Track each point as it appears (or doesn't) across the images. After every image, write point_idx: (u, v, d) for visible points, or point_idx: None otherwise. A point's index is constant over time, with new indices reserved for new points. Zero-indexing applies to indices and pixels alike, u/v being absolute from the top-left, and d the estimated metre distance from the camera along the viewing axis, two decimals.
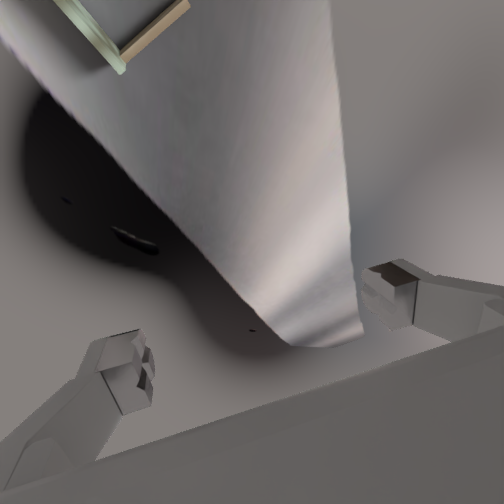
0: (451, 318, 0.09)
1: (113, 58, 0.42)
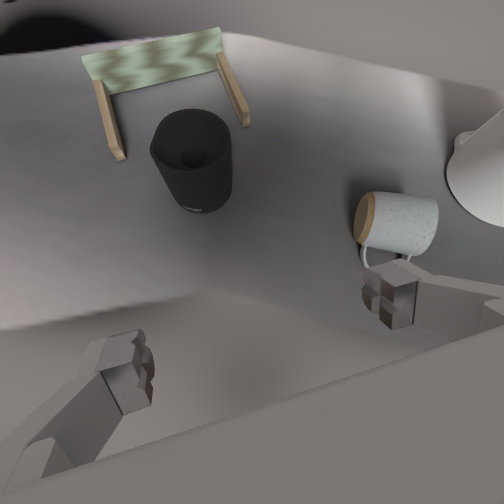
0: (451, 318, 0.09)
1: (96, 57, 0.41)
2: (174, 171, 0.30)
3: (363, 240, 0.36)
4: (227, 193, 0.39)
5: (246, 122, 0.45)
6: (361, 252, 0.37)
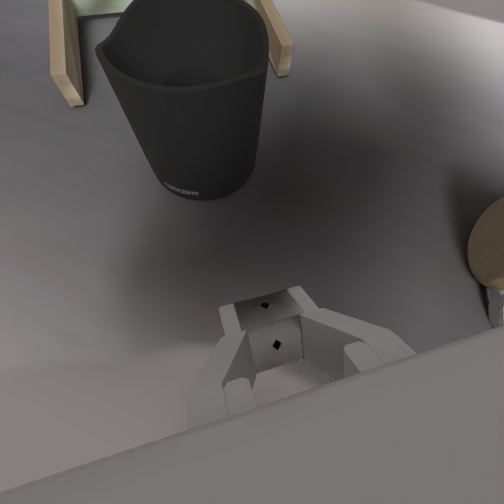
0: (331, 356, 0.08)
1: None
2: (139, 85, 0.13)
3: None
4: (247, 167, 0.21)
5: (283, 67, 0.28)
6: (495, 306, 0.19)
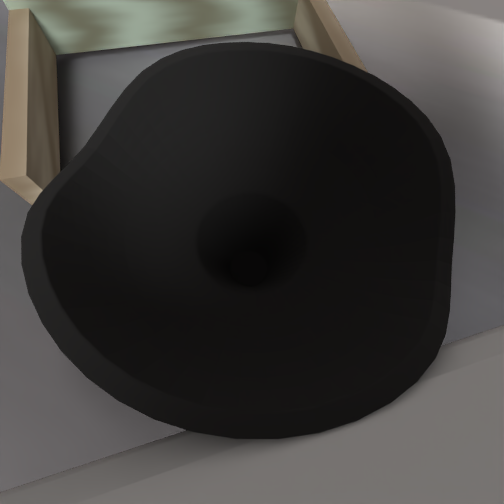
0: None
1: None
2: (122, 399, 0.04)
3: None
4: None
5: None
6: None
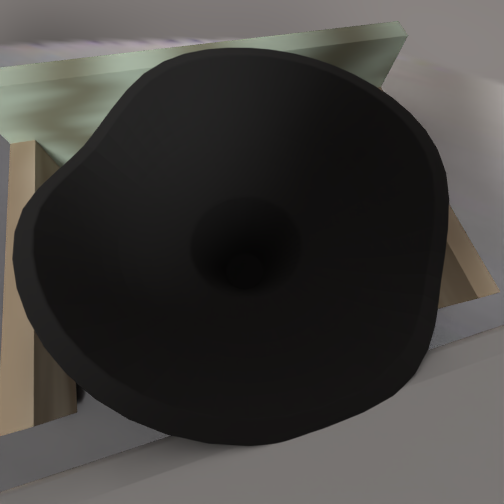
0: None
1: (10, 81, 0.12)
2: (98, 397, 0.04)
3: None
4: None
5: None
6: None
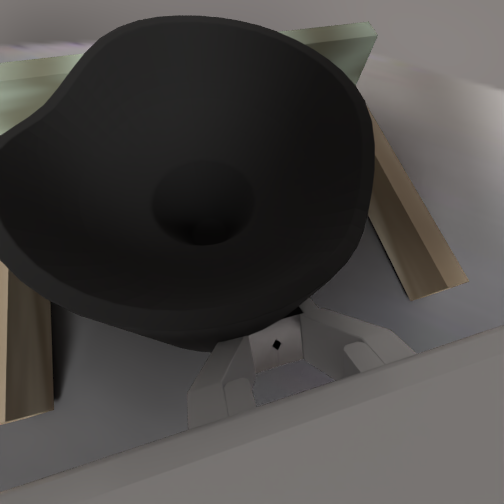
0: (331, 356, 0.08)
1: None
2: (48, 297, 0.05)
3: None
4: None
5: (428, 295, 0.15)
6: None
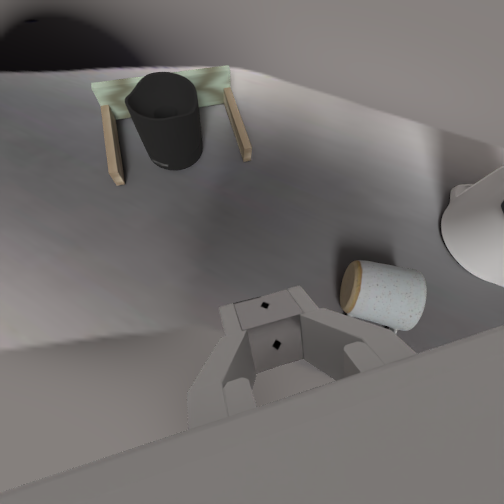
0: (331, 356, 0.08)
1: (106, 85, 0.42)
2: (139, 116, 0.35)
3: (348, 311, 0.34)
4: (193, 155, 0.43)
5: (246, 157, 0.45)
6: None
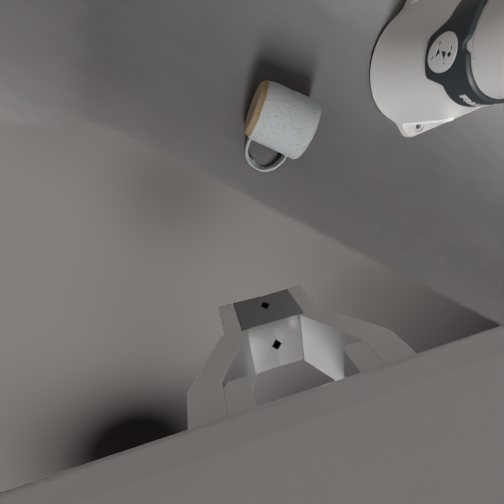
0: (331, 356, 0.08)
1: None
2: None
3: (247, 135, 0.37)
4: None
5: None
6: (246, 143, 0.39)
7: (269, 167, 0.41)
